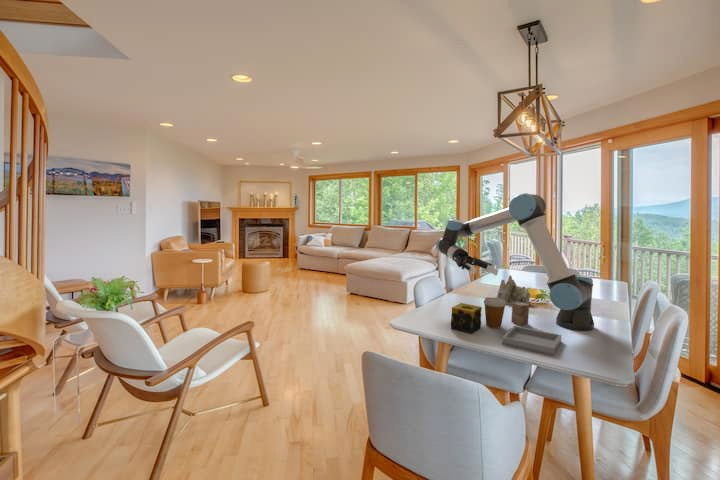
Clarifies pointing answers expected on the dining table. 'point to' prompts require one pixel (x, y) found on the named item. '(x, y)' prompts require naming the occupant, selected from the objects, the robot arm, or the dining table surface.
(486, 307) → the disposable coffee cup
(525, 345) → the slate tray
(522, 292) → the grey jagged rock
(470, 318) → the tissue box
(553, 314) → the dining table surface
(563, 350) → the dining table surface
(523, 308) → the walnut block
